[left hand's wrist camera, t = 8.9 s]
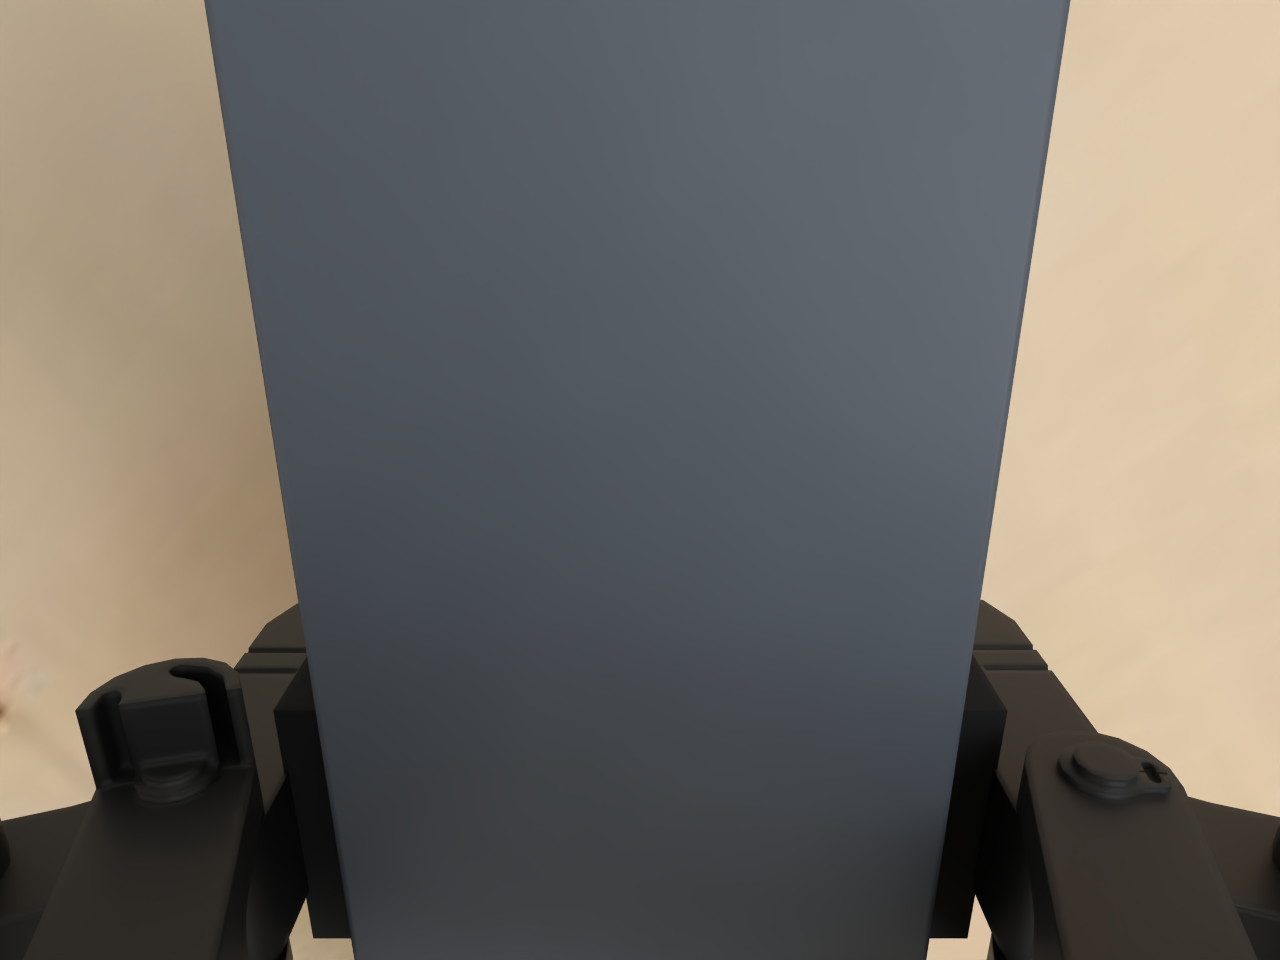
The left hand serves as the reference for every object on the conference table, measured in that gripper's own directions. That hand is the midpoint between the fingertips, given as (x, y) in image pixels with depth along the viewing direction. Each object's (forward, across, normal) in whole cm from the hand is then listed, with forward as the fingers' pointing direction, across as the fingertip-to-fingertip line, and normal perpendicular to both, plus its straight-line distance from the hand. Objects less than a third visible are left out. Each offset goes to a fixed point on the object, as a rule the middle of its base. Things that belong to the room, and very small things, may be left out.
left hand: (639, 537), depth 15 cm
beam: (+1, 0, -24) cm, 24 cm away
